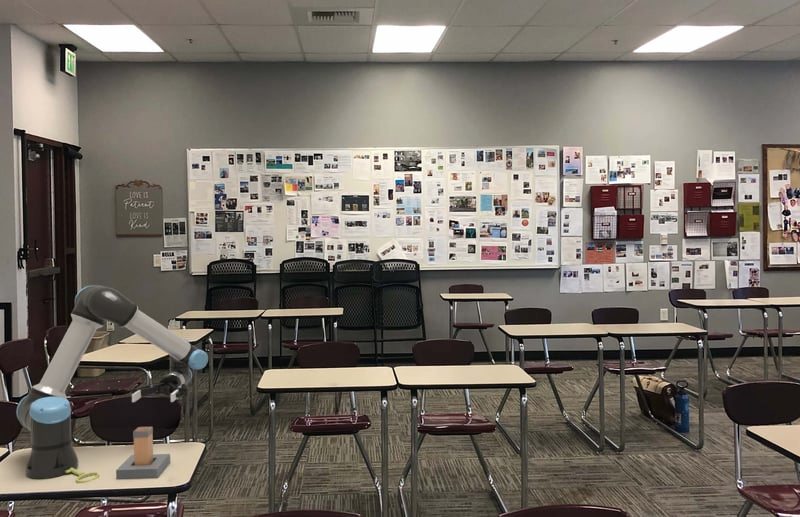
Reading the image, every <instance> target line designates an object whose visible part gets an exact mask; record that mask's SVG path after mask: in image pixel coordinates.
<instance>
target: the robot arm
mask: <svg viewBox="0 0 800 517" xmlns="http://www.w3.org/2000/svg"><path fill="white" fill-rule="evenodd" d="M70 316H71V319H72V321H71V322H70V325H69V326H68V328H67V331H66V332H65V334H64V336H63V338H62V340H61V342H60V343H59V346H58V348H57V350H56V352H55V353H54V356H53V357H52V360H51V361H50V363H49V365H48V366H47V368H46V370H45V372H44V374H43V376H42V378H41V379H40V382H39V383H38V384H34V385H32V387H31V388H30V391H29V392H28V394H27V395H26V396H24V397H22V399H21V400H20V401H19V403H18V405H17V407H16V417H17V420H18V421H19V423H20V424H21V426H23V427H24V428H25V429H27V430H28V431H29V432H30V441H31V442H30V443H31V451H30V454H29V458H28V462H27V464H26V469H25V470H26V471H25V473H26V477H27V478H30V479H41V480H42V479H51V478H56V477H61V476H63V475H67V474H68V473H66V472H65V471H67V470H69V469H70V468H74V469H76V470H77V468H78V467H79V458H78V455H77V454H76V452H75V449H74V447H73V444H72V419H71V418H72V415H71V413H72V409H71V404H70V401H69V400H68V399H67V398H68V397H67V395H66V390H67V388H68V386H69V384H70V382H71V380H72V378H73V376H74V375H75V372H76V371H77V368H78V367H79V365H80V362H81V361H82V359H83V356H85V353H86V351H87V348H88V347H89V345H90V343H91V342H92V339H93V337H94V336H95V333H96V331H97V330H98V329H101V328H104V325H105V324H106V322H110V323H112V324H114V325H116V326H117V327H119V328H126V329H127V330H130V331H131V332H132V333H134V334H136V335H137V336H139V337H140V338H142V339H144V340H145V341H146V342H148V343H149V344H151V345H153V346H155V347H157V348H158V349H159V350H161V351H163V352H164V353H166V354H168V355H169V373H168V374H167V375H165V376H164V377H163V378H162V379H160V381H159V383H157V384H153V383H148V384H146V385H144V386H140V387H139V386H138V387H136V388H132V389H131V403H136V402H137V401H138V400H139V399H141V398H142V397H144V396H150V395H159V394H162V395H164V396H166V397H167V396H170V403H174V402H175V401H176V400H177V399H178V398H181V397H188V395H189V390H188V387H187V385H188V384H189V383H190V382H191V381H192V378H193V373H192V370H202V369H204V368H205V367H206V366H207V364H208V362H209V357H208V356H209V355H208V354H207V352H205V351H204V350H203V349H199V348H197V347H196V346H194V345H193V344H191V343H190V341H189V339H187V338H182V337H181V336H179V335H177V334H176V333H175V332H173V331H171V330H170V329H168V328H167V327H165V326H164V325H162V324H161V323H159V322H158V321H157V320H155V319H153V318H152V317H150V316H148V315H147V314H145V313H144V312H143V311H141V310H140V309H139V306H138V304H136V303H134V302H133V301H132V300H130V299H129V298H127V297H126V296H125V295H123V293H121V292H120V291H119V290H117V289H115V288H113V287H109V286H103V285H100V284H92V285H86V286H85V287H83V288H81V289H80V290H79V291H78V292H77V294H76V295H75V298H74V308H73V309H72V311H71V313H70ZM191 369H192V370H191Z"/></svg>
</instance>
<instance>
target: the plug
mask: <svg viewBox="0 0 800 517" xmlns="http://www.w3.org/2000/svg"><path fill="white" fill-rule="evenodd" d="M153 433H154V428H153V426H138V427H137V428H136V429H134V430H133V431H132V435H133V436H132V439H133V451H134V452H133V455H134V462H135V466H140V465H151V464H152V463H153V454H154V444H153V443H154V440H153V439H154V438H153V436H154V435H153Z"/></svg>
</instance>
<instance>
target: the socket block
mask: <svg viewBox="0 0 800 517" xmlns="http://www.w3.org/2000/svg"><path fill="white" fill-rule="evenodd" d="M168 464H169V465H170V464H171V454H170V453H160V454H159V453H153V463H152V464H151V465H140V466H135V462H134V454H131V455H129V457H127V459H126V460H125V461H124V462H123V463H122V464H120V466H118V468H117V469H116V470H115V473H116V474H115V475H116V476H115V478H116V480H129V479H130V480H131V479H135V480H136V479H159V477H160V476H161V474H162V473H164V471H165V470H166V468H167V467H168V466H169V465H168ZM167 465H168V466H167Z"/></svg>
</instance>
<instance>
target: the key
mask: <svg viewBox="0 0 800 517" xmlns="http://www.w3.org/2000/svg"><path fill="white" fill-rule="evenodd" d="M65 472H66V473H67V474H68V473H73V474H75V475H77V477H76V479H75V483H76V484H85V483H89V482H92V481H95V480H96V479H99V478H100V473H99V472H97V471H93V472H88V473H85V472H84V471H79V470H77V468H76V469H74V468H70V469H69V470H67V471H65ZM92 476H94V477H92ZM88 477H91V478H90V479H86V480H83V479H85V478H88Z"/></svg>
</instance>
